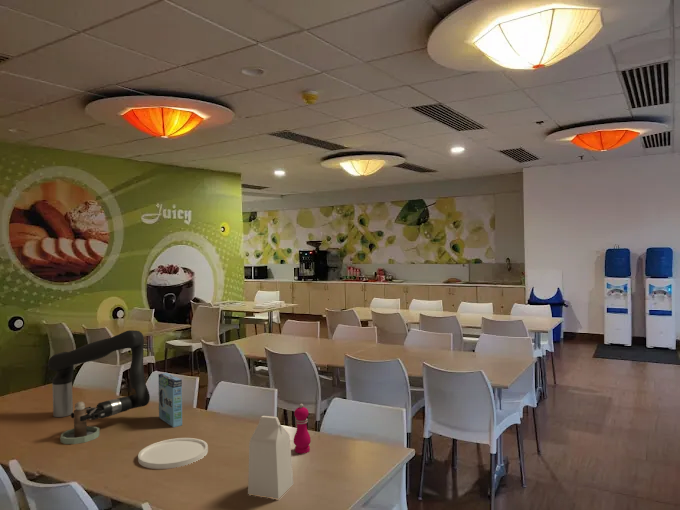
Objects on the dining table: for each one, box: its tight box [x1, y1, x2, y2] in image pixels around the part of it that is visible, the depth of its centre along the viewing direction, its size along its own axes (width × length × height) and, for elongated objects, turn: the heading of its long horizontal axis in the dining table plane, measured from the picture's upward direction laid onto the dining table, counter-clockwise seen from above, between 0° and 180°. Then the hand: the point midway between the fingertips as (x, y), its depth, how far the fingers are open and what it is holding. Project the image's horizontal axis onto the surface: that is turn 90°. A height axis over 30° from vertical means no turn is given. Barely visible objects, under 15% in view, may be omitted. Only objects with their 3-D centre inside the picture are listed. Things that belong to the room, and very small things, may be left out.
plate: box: [137, 437, 209, 470], centre depth 214 cm, size 28×28×2 cm
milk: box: [247, 415, 294, 500], centre depth 180 cm, size 12×12×26 cm
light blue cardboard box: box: [157, 372, 183, 428], centre depth 257 cm, size 20×5×23 cm, turn 39°
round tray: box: [59, 425, 100, 445], centre depth 238 cm, size 16×16×2 cm
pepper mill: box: [293, 403, 312, 455], centre depth 215 cm, size 7×7×20 cm
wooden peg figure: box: [73, 400, 88, 438], centre depth 238 cm, size 5×5×16 cm
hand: (75, 417), depth 236 cm, fingers open, 8 cm apart
